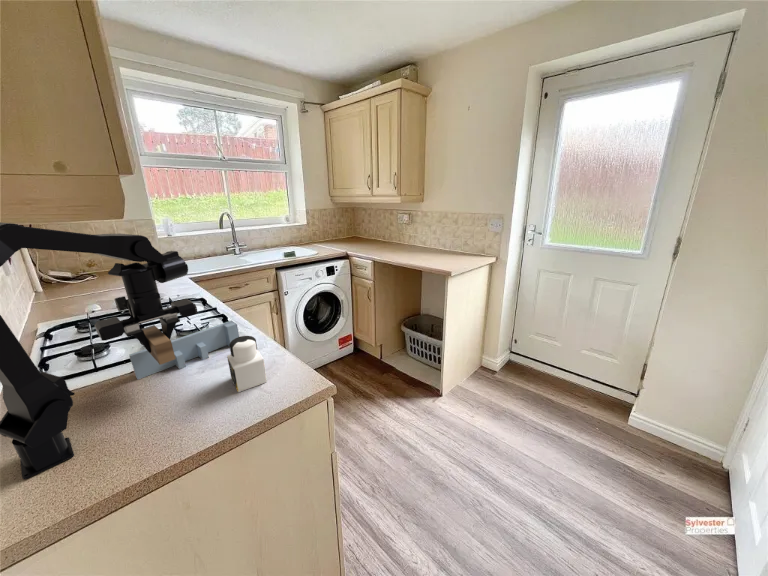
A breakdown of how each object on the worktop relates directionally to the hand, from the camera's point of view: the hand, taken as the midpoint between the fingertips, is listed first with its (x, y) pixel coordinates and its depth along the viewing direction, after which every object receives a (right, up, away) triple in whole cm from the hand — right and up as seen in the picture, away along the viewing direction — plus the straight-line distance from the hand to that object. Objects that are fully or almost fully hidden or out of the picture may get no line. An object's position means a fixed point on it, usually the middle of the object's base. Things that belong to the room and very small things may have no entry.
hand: (158, 349), depth 76 cm
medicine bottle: (+20, -9, +4) cm, 23 cm away
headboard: (+1, -6, +12) cm, 14 cm away
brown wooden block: (0, -1, 0) cm, 1 cm away
